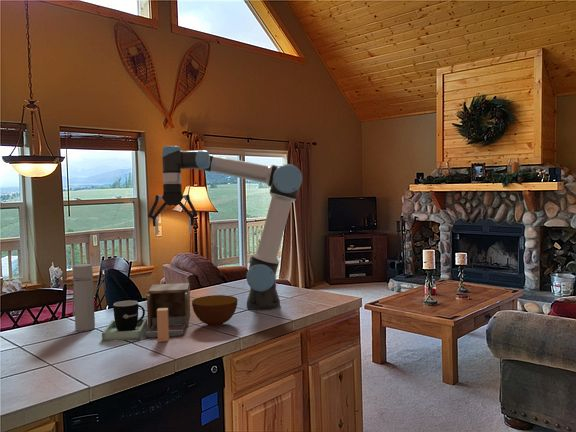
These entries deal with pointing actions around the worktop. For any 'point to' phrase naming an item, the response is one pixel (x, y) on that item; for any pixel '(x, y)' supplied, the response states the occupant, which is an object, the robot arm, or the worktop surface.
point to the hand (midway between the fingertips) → (173, 233)
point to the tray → (124, 332)
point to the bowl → (214, 309)
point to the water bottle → (83, 297)
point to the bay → (169, 300)
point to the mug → (126, 315)
